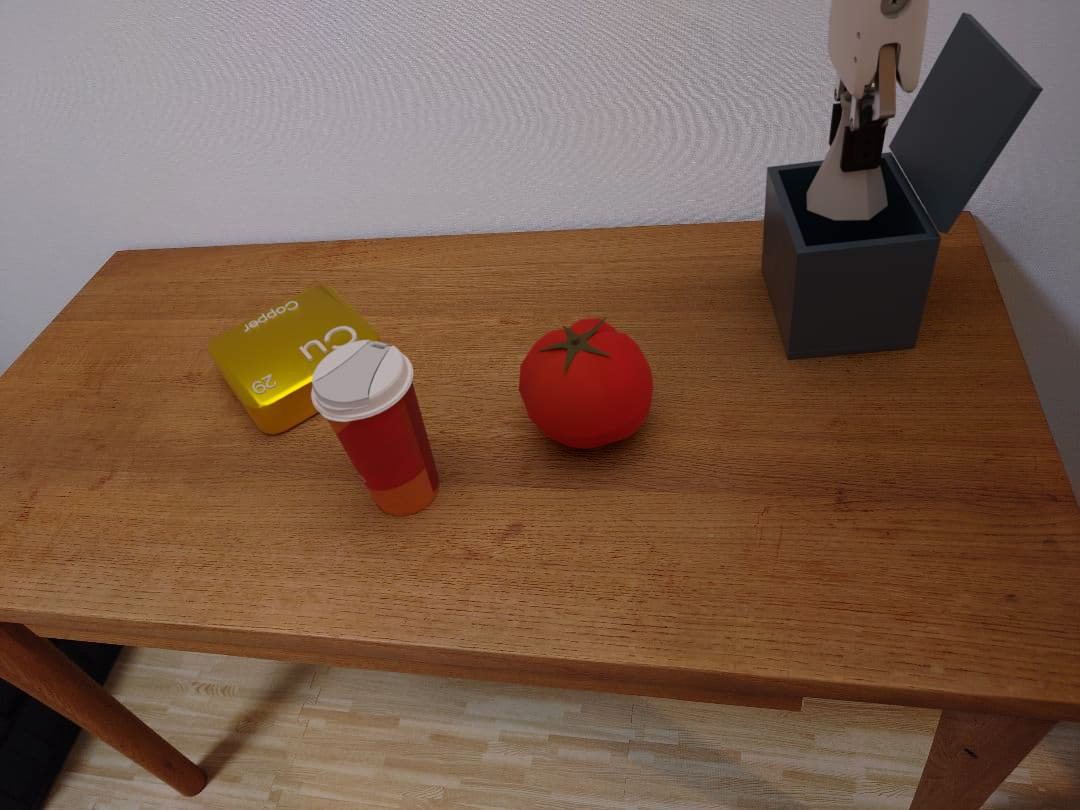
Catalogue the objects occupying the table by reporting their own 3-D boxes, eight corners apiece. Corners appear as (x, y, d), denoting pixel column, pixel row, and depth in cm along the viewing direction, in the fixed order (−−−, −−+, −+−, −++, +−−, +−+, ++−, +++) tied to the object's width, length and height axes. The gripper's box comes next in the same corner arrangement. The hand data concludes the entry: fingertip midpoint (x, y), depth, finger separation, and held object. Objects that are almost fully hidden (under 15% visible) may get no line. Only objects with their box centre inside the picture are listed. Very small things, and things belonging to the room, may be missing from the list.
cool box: (787, 359, 77) (797, 253, 69) (761, 269, 88) (766, 166, 79) (915, 348, 76) (941, 237, 67) (873, 257, 86) (891, 151, 78)
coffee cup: (394, 446, 77) (345, 327, 66) (468, 468, 74) (428, 345, 63) (344, 513, 72) (282, 395, 61) (420, 539, 69) (368, 419, 58)
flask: (818, 176, 77) (829, 73, 70) (897, 187, 74) (917, 80, 67) (793, 216, 73) (802, 111, 66) (876, 230, 70) (894, 121, 63)
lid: (1033, 86, 58) (1043, 88, 58) (962, 12, 68) (971, 14, 69) (938, 232, 67) (947, 233, 67) (888, 146, 77) (896, 148, 77)
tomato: (667, 391, 77) (662, 299, 69) (641, 482, 69) (632, 391, 62) (549, 377, 81) (532, 289, 73) (512, 463, 73) (489, 375, 65)
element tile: (336, 308, 94) (323, 275, 91) (397, 369, 85) (384, 335, 82) (218, 370, 89) (199, 338, 86) (268, 443, 80) (249, 409, 77)
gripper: (983, -50, 51) (928, 202, 64) (905, -116, 63) (872, 109, 76) (861, -32, 52) (830, 213, 65) (807, -100, 64) (790, 119, 76)
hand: (853, 155), depth 70 cm, fingers closed on flask, 3 cm apart
